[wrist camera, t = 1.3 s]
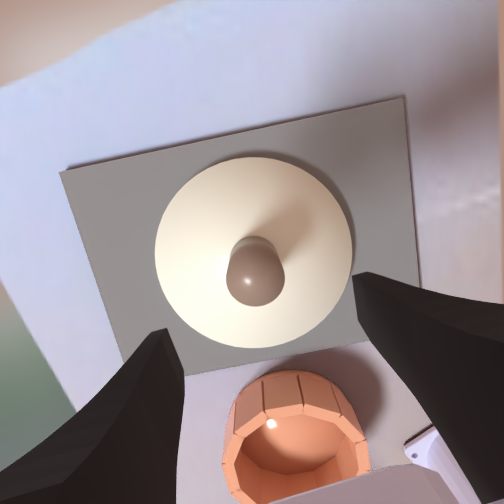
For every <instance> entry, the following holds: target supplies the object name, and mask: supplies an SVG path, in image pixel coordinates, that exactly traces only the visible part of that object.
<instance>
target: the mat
mask: <svg viewBox="0 0 504 504" xmlns="http://www.w3.org/2000/svg"><path fill="white" fill-rule="evenodd" d="M247 157H262V158H269V159H276V160H279V161H283V162H286V163H289V164H292V165H294V166H296V167H298V168H300V169H302V170H304V171H306V172H307V173H309V174H310V175H312V176H313V177H315V178H316V179H317V180H318V181H319V182H321V183H322V184H323V185H324V186H325V187H326V188H327V189H328V191H329V192H330V193H331V194H332V195H333V197H334V198H335V199H336V201H337V202H338V204H339V205H340V207H341V209H342V211H343V213H344V215H345V218H346V221H347V224H348V227H349V230H350V236H351V241H352V262H351V269H350V274H349V278H348V281H347V284H346V286H345V289H344V291H343V293H342V295H341V297H340V299H339V301H338V302H337V304H336V305H335V307H334V308H333V309H332V311H331V312H330V313H329V314H328V315H327V316H326V318H325V319H324V320H323V321H321V322H320V323H319V324H318V325H317V326H316V327H315V328H313V329H312V330H310V331H309V332H307V333H306V334H304V335H302V336H300V337H298V338H296V339H294V340H292V341H289V342H286V343H284V344H280V345H276V346H272V347H264V348H242V347H234V346H230V345H226V344H222V343H220V342H217V341H214V340H212V339H210V338H208V337H206V336H204V335H202V334H200V333H199V332H197V331H196V330H195V329H193V328H192V327H190V326H189V325H188V324H187V323H186V322H185V321H184V320H182V318H181V317H180V316H179V315H178V314H177V313H176V312H175V310H174V309H173V308H172V306H171V305H170V303H169V302H168V300H167V298H166V296H165V294H164V292H163V290H162V288H161V285H160V282H159V279H158V275H157V270H156V265H155V242H156V236H157V231H158V227H159V224H160V222H161V219H162V216H163V214H164V212H165V210H166V208H167V206H168V205H169V203H170V202H171V200H172V199H173V197H174V196H175V195H176V193H177V192H178V191H179V190H180V189H181V188H182V187H183V186H184V185H185V184H186V183H187V182H188V181H190V180H191V179H192V178H193V177H195V176H196V175H197V174H199V173H201V172H202V171H204V170H206V169H207V168H209V167H212V166H214V165H217V164H219V163H221V162H225V161H229V160H233V159H239V158H247ZM59 174H60V177H61V180H62V183H63V186H64V189H65V192H66V195H67V198H68V201H69V204H70V207H71V210H72V212H73V215H74V218H75V221H76V224H77V227H78V230H79V233H80V236H81V239H82V242H83V245H84V248H85V251H86V253H87V256H88V259H89V262H90V265H91V268H92V271H93V274H94V277H95V280H96V283H97V286H98V289H99V292H100V294H101V297H102V300H103V303H104V306H105V309H106V312H107V315H108V318H109V321H110V324H111V327H112V330H113V333H114V335H115V338H116V341H117V344H118V347H119V350H120V353H121V356H122V359H123V362H124V363H125V362H126V361H127V360H128V359H129V357H130V356H131V355H132V354H133V353H134V351H135V350H136V349H137V348H138V346H139V345H140V344H141V343H142V342H143V340H144V339H145V338H146V337H147V336H148V335H149V334H150V333H151V332H153V331H157V330H160V329H164V328H167V329H168V332H169V334H170V337H171V339H172V342H173V344H174V346H175V349H176V351H177V354H178V356H179V359H180V361H181V364H182V366H183V369H184V376H189V375H194V374H199V373H204V372H210V371H215V370H220V369H225V368H230V367H235V366H241V365H246V364H251V363H256V362H261V361H266V360H272V359H277V358H282V357H287V356H292V355H298V354H303V353H308V352H313V351H318V350H323V349H329V348H334V347H339V346H344V345H349V344H355V343H360V342H365V341H370V340H369V338H368V337H367V335H366V333H365V332H364V330H363V328H362V327H361V325H360V323H359V322H358V318H357V311H356V304H355V297H354V290H353V283H352V275H356V274H359V273H363V272H366V271H367V272H372V273H375V274H378V275H382V276H385V277H388V278H391V279H394V280H397V281H400V282H403V283H406V284H409V285H412V286H416V287H419V275H418V264H417V252H416V240H415V229H414V217H413V206H412V194H411V182H410V171H409V159H408V148H407V136H406V124H405V113H404V101H403V97H402V98H398V99H393V100H388V101H384V102H379V103H375V104H370V105H365V106H361V107H356V108H352V109H347V110H342V111H338V112H333V113H329V114H324V115H319V116H315V117H310V118H306V119H301V120H296V121H292V122H287V123H283V124H278V125H273V126H269V127H264V128H260V129H255V130H250V131H246V132H241V133H237V134H232V135H227V136H223V137H218V138H214V139H209V140H204V141H200V142H195V143H191V144H186V145H181V146H177V147H172V148H168V149H163V150H158V151H154V152H149V153H144V154H140V155H135V156H131V157H126V158H121V159H117V160H112V161H108V162H103V163H98V164H94V165H89V166H85V167H80V168H75V169H71V170H66V171H62V172H59ZM419 288H420V287H419Z"/></svg>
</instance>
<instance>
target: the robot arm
mask: <svg viewBox="0 0 504 504" xmlns="http://www.w3.org/2000/svg"><path fill="white" fill-rule="evenodd" d="M352 283H353V290H354V297H355V304H356V311H357V318H358V322H359V323H360V325H361V327H362V328H363V330H364V332H365V333H366V335H367V337H368V338H369V340H370V341H371V343H372V344H373V345H374V346H375V348H376V349H377V350H378V351H379V353H380V354H381V355H382V356H383V358H384V359H385V360H386V361H387V362H388V364H389V365H390V366H391V367H392V369H393V370H394V371H395V372H396V373H397V375H398V376H399V377H400V378H401V379H402V381H403V382H404V383H405V384H406V386H407V387H408V388H409V389H410V391H411V392H412V393H413V395H414V396H415V397H416V399H417V400H418V402H419V403H420V405H421V406H422V408H423V409H424V411H425V412H426V414H427V415H428V417H429V418H430V420H431V421H432V423H433V425H434V426H433V427H432V428H430V429H429V430H427V431H426V432H424V433H423V434H421V435H420V436H418V437H417V438H415V439H414V440H412V441H411V442H409V443H408V444H406V445H405V446H404V448H403V451H404V452H405V454H406V455H407V457H408V458H409V459H410V460H411V461H412V462H413V463H414V464H406V465H397V466H388V467H385V468H382V469H379V470H375V471H372V472H369V473H365V474H362V475H359V476H356V477H352V478H349V479H346V480H342V481H339V482H336V483H332V484H329V485H326V486H323V487H319V488H316V489H313V490H309V491H306V492H303V493H300V494H296V495H293V496H290V497H286V498H283V499H280V500H276V501H273V502H270V503H268V504H504V304H497V303H489V302H482V301H476V300H470V299H465V298H460V297H454V296H450V295H445V294H441V293H437V292H433V291H430V290H426V289H422V288H419V287H416V286H412V285H409V284H406V283H403V282H400V281H397V280H394V279H391V278H388V277H385V276H382V275H378V274H375V273H372V272H367V271H366V272H363V273H359V274H356V275H352ZM184 396H185V384H184V369H183V366H182V364H181V361H180V359H179V356H178V354H177V351H176V349H175V346H174V344H173V342H172V339H171V337H170V334H169V332H168V329H167V328H164V329H160V330H157V331H153V332H151V333H150V334H149V335H148V336H147V337H146V338H145V339H144V340H143V342H142V343H141V344H140V345H139V346H138V348H137V349H136V350H135V351H134V353H133V354H132V355H131V356H130V357H129V359H128V360H127V361H126V362H125V363H124V365H123V366H122V367H121V368H120V369H119V370H118V372H117V373H116V374H115V375H114V376H113V377H112V378H111V379H110V380H109V382H108V383H107V384H106V385H105V386H104V387H103V388H102V389H101V390H100V391H99V392H98V393H97V394H96V395H95V396H94V397H93V398H92V399H91V400H90V401H89V402H88V403H87V404H86V405H85V406H84V407H83V408H82V409H81V410H80V411H79V412H78V413H76V414H75V415H74V416H73V417H72V418H71V419H70V420H68V421H67V422H66V423H65V424H63V425H62V426H61V427H60V428H59V429H57V430H56V431H55V432H54V433H53V434H51V435H50V436H49V437H48V438H47V439H45V440H44V441H43V442H42V443H40V444H39V445H37V446H36V447H35V448H34V449H32V450H31V451H30V452H28V453H27V454H25V455H24V456H23V457H21V458H20V459H18V460H17V461H15V462H14V463H13V464H11V465H10V466H8V467H7V468H5V469H4V470H2V471H1V472H0V504H176V471H177V456H178V447H179V439H180V431H181V423H182V414H183V405H184Z"/></svg>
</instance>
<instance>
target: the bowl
mask: <svg viewBox="0 0 504 504" xmlns="http://www.w3.org/2000/svg"><path fill="white" fill-rule="evenodd" d="M222 467H223V470H224V474H225V477H226V481H227V484H228V488H229V492H230V493H231V495H232V496H233V497H235V498H236V499H237V500H238V501H239V502H240V503H241V504H268V503H270V502H273V501H276V500H280V499H283V498H286V497H290V496H293V495H296V494H300V493H303V492H306V491H309V490H313V489H316V488H319V487H323V486H326V485H329V484H332V483H336V482H339V481H342V480H346V479H349V478H352V477H356V476H359V475H362V474H365V473H369V472H370V470H371V469H370V462H369V455H368V448H367V441H366V438H365V436H364V434H363V431H362V429H361V427H360V424H359V422H358V419H357V417H356V415H355V412H354V410H353V408H352V406H351V404H350V403H349V402H348V401H347V399H346V397H345V396H344V394H343V393H342V391H341V390H340V389H339V388H338V387H337V386H336V385H335V384H334V383H332V382H331V381H329V380H328V379H326V378H324V377H323V376H321V375H318V374H315V373H313V372H308V371H304V370H282V371H277V372H273V373H269V374H267V375H264V376H262V377H260V378H258V379H256V380H254V381H253V382H252V383H250V384H249V385H248V386H246V387H245V388H244V389H243V390H242V391H241V392H240V394H239V395H238V396H237V398H236V399H235V401H234V403H233V405H232V407H231V410H230V413H229V419H228V422H227V425H226V428H225V438H224V448H223V458H222Z"/></svg>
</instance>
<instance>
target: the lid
mask: <svg viewBox="0 0 504 504" xmlns="http://www.w3.org/2000/svg"><path fill="white" fill-rule="evenodd" d="M351 262H352V241H351V236H350V230H349V227H348V224H347V221H346V218H345V215H344V213H343V211H342V209H341V207H340V205H339V204H338V202H337V201H336V199H335V198H334V197H333V195H332V194H331V193H330V192H329V191H328V189H327V188H326V187H325V186H324V185H323V184H322V183H321V182H319V181H318V180H317V179H316V178H315V177H313V176H312V175H310V174H309V173H307V172H306V171H304V170H302V169H300V168H298V167H296V166H294V165H292V164H289V163H286V162H283V161H279V160H276V159H269V158H262V157H247V158H239V159H233V160H229V161H225V162H221V163H219V164H217V165H214V166H212V167H209V168H207V169H206V170H204V171H202V172H201V173H199V174H197V175H196V176H195V177H193V178H192V179H191V180H190V181H188V182H187V183H186V184H185V185H184V186H183V187H182V188H181V189H180V190H179V191H178V192H177V193H176V195H175V196H174V197H173V199H172V200H171V202H170V203H169V205H168V206H167V208H166V210H165V212H164V214H163V216H162V219H161V222H160V224H159V227H158V231H157V236H156V242H155V265H156V270H157V275H158V279H159V282H160V285H161V288H162V290H163V292H164V294H165V296H166V298H167V300H168V302H169V303H170V305H171V306H172V308H173V309H174V310H175V312H176V313H177V314H178V315H179V316H180V317H181V318H182V320H184V321H185V322H186V323H187V324H188V325H189V326H190V327H192V328H193V329H195V330H196V331H197V332H199V333H200V334H202V335H204V336H206V337H208V338H210V339H212V340H214V341H217V342H220V343H222V344H226V345H230V346H234V347H242V348H264V347H272V346H276V345H280V344H284V343H286V342H289V341H292V340H294V339H296V338H298V337H300V336H302V335H304V334H306V333H307V332H309V331H310V330H312V329H313V328H315V327H316V326H317V325H318V324H319V323H320V322H321V321H323V320H324V319H325V318H326V316H327V315H328V314H329V313H330V312H331V311H332V309H333V308H334V307H335V305H336V304H337V302H338V301H339V299H340V297H341V295H342V293H343V291H344V289H345V286H346V284H347V281H348V278H349V274H350V269H351Z"/></svg>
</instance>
